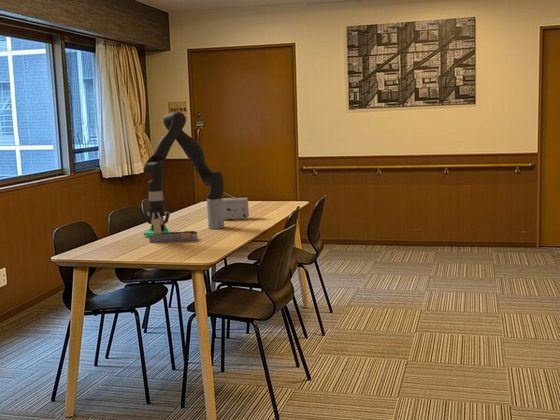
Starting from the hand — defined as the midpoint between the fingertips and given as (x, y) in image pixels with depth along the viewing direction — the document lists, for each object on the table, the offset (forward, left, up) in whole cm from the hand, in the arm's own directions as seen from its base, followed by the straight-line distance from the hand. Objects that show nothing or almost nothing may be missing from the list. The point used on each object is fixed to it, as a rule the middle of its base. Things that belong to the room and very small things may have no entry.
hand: (158, 231), depth 360 cm
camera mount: (-15, -7, -6) cm, 17 cm away
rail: (0, +8, -5) cm, 10 cm away
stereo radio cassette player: (-70, +24, -6) cm, 74 cm away
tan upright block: (0, 0, -3) cm, 3 cm away
